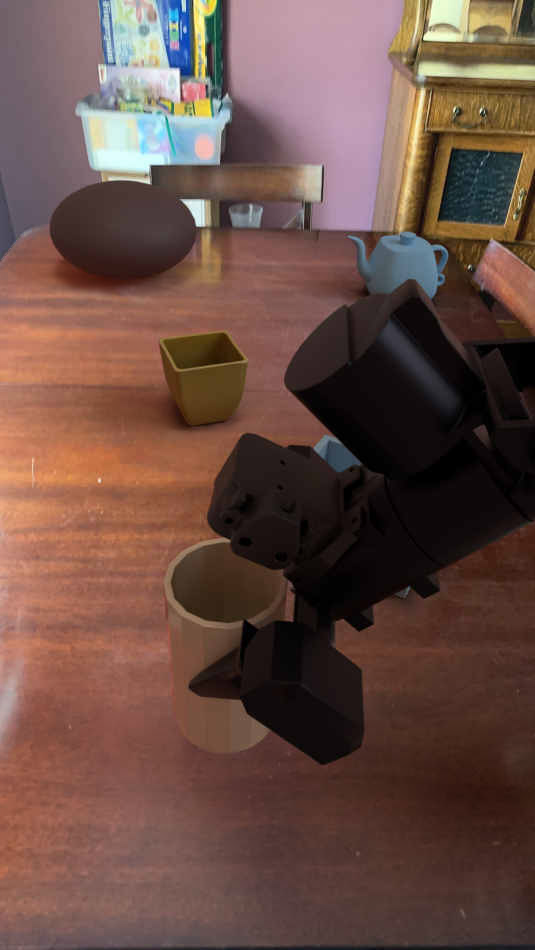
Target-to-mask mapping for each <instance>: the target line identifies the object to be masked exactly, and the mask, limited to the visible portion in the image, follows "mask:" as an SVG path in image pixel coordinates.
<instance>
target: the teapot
mask: <svg viewBox="0 0 535 950" xmlns="http://www.w3.org/2000/svg"><path fill="white" fill-rule="evenodd" d="M347 237H348V239H350V241H352V242H353V243H354V246H355V249H356V250H355V251H356V259H355V260H356V262H355V263H356V271H357V273H358V275H359V276H360V277H361V279H363V280H364V285H365V287H366V289H367V291H368V293H369V295H373V294H377V293H387V294H389V293H391V292H392V291H393V290H395V289H396V288H397V287H398V286H400V285H401V284H402V283H404V282H405V281H406V280H407V279H415V280H416V281H417V282H418V283H419V285H420V286H421V287H422V288H423V290H424V291H425V292H426V293H427V295H428V296H429V297H430V299H431V300H432V299H433V298H434V296H435V295H436V293H437V289H438V287H440V286H442V285H443V284H444V283H445V279H446V278H445V275H444V274H443V273H442V272H443V269H444V268H445V266H446V264H447V262H448V259H449V252H448V250H447V249H446V248H445V247H444V246H443V245H441V244H432V245H431V243H430V242H429V241H427V240H426V239H424V238H422V237H420V236H417V234H416V233H414V232H411V231H402V232H400V233H399V234H398V235H397V234H394V235H393V234H392V235H383V236H382V237H380V239H379V240H378V241H377V243H376V245H375V247H374V248H373V251H372V252H371V254H370V256H369V258H368V261H367V257H366V246H365V243H364V240H362V239H361V238H360V237H356V236H352V235H347ZM435 251H439V252H441V254H442V256H441V258H440V260H439V263H438V264H437V260H436V255H435ZM438 278H439V279H438Z"/></svg>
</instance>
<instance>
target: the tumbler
mask: <svg viewBox="0 0 535 950" xmlns="http://www.w3.org/2000/svg"><path fill="white" fill-rule="evenodd" d="M230 541H231V540H229V539H226V538H224V537H218V538H213V539H212V538H211V539H207V540H202V541H199V542H197V543H195V544H193V545H191V546H189V547H187V548H185V549H183V550H182V551H180V553H179V554H177V556H176V557H174V559H173V560H172V561H171V562H170V563H169V564H168V566H167V569H166V573H165V576H164V579H163V581H162V583H163V584H162V585H163V597H164V608H165V609H164V610H165V611H164V612H165V622H166V637H167V647H168V648H167V649H168V659H169V660H168V663H169V674H170V686H171V698H172V707H173V715H174V719H175V722H176V725H177V727H178V729H179V731H180V733H181V735H183V736H184V738H185V739H187V741H189V742H190V743H191V744H192V745H194V746H195V747H197V748H199V749H201V750H203V751H206V752H209V753H213V754H235V753H238V752H239V753H240V752H243V751H246V750H249V749H251V748H252V747H254V746H255V745H257V744H259V743H260V742H261V741H262V740H263V739H264V738H265V737H266V736H267V735H268V734H269V733H270V731H271V730H270V729H268V728H267V727H265V726H264V725H262V724H261V723H259V722H258V721H256V720H255V719H253V718H252V717H251V716H249V715H248V714H247V713H246V711H245V708H244V706H243V704H242V701H241V700H232V699H219V698H207V697H200V696H198V695H196V694H195V693H193V692H192V691H190V690H189V689H188V685H189V682H190V681H191V680H192V679H193V678H194V677H196V676H197V675H198V674H199V673H200V672H202V671H203V670H204V669H206V668H207V667H209V666H210V665H212V664H214V663H215V662H217V661H218V660H220V659H221V658H223V657H224V656H226V655H227V654H229V653H230V652H232V651H233V650H235V649H236V648H238V647H239V646H240V639H241V631H242V623H243V621H244V620H245V619H246V620H247V621H248V622H250V623H251V624H252V625H253V626H255V627H256V628H257V629H260V628H262V627H264V626H266V625H268V624H269V623H271V622H273V621H275V620H280V621H286V619H285V617H286V608H287V597H288V596H287V595H288V580H287V579H286V578H285V577H284V576H283V569H281V570H270V569H268V568H266V567H263V566H261V565H259V564H256V563H254V562H251V561H249V560H247V559H244V558H242V557H240V556H237V555H235V554H234V553H233V551H232V549H231V547H230Z"/></svg>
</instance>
